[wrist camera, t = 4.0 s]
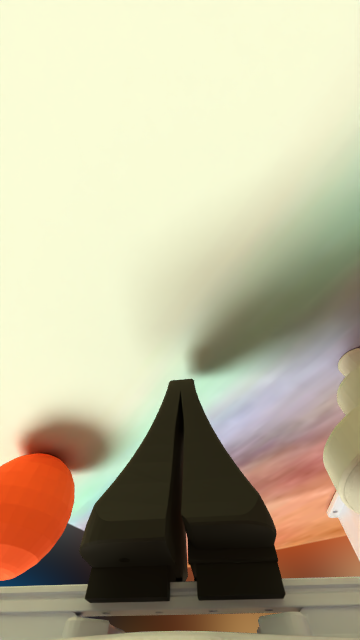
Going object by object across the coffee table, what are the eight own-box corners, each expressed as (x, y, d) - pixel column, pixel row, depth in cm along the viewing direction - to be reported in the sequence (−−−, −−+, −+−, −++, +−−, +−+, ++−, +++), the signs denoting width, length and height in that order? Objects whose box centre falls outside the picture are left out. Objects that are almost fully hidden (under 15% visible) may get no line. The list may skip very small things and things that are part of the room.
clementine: (-23, 438, 18) (-134, 568, 11) (47, 418, 16) (-36, 553, 10) (41, 484, 21) (-17, 603, 15) (103, 471, 20) (67, 594, 14)
